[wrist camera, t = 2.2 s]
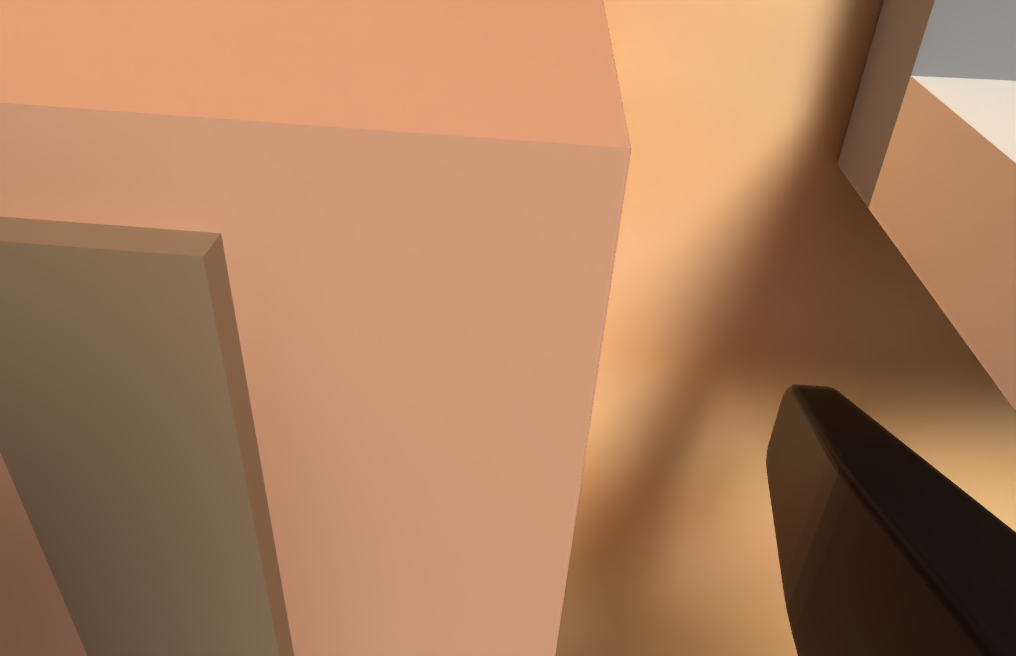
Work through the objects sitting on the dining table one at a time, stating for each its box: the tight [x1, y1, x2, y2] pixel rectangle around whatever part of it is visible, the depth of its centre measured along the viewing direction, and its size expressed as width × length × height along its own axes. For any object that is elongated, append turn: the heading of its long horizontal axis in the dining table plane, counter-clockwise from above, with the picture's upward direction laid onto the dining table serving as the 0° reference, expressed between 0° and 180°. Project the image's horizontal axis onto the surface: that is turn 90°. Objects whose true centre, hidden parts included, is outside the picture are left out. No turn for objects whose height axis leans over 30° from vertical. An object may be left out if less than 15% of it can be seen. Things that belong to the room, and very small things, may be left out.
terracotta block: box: [0, 0, 631, 656], centre depth 7 cm, size 8×4×5 cm, turn 177°
